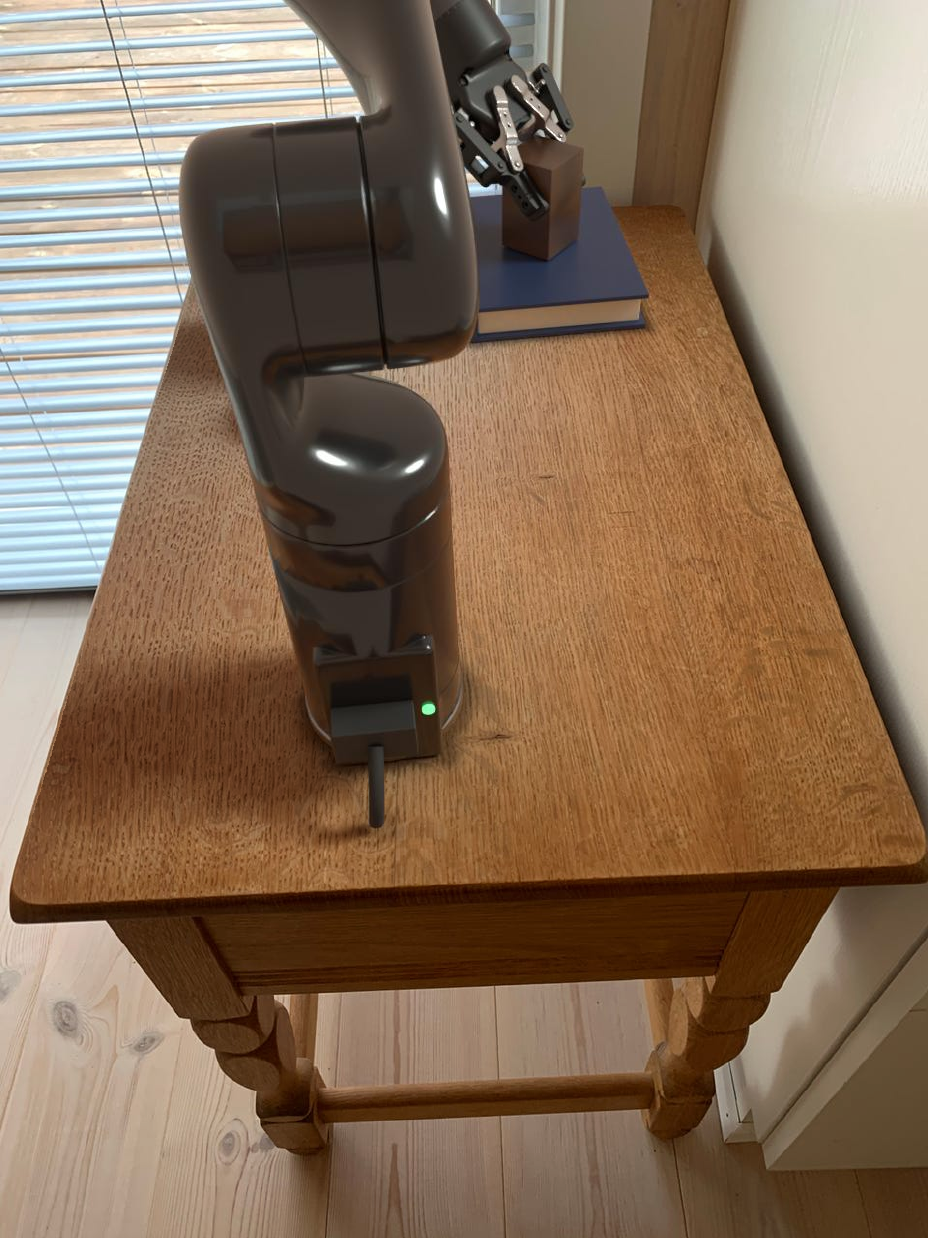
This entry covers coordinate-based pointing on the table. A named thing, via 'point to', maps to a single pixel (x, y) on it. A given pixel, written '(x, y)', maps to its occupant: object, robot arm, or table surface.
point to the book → (556, 278)
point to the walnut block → (560, 185)
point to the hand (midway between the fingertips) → (559, 201)
